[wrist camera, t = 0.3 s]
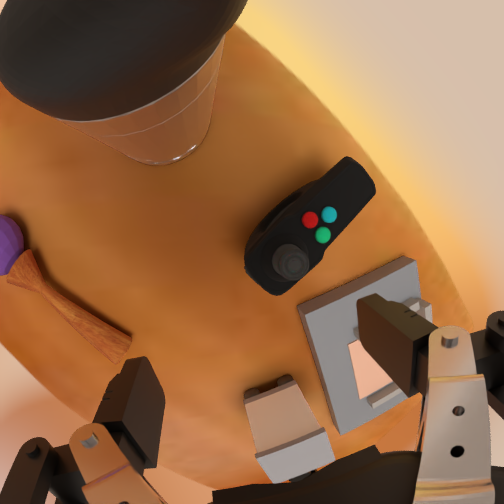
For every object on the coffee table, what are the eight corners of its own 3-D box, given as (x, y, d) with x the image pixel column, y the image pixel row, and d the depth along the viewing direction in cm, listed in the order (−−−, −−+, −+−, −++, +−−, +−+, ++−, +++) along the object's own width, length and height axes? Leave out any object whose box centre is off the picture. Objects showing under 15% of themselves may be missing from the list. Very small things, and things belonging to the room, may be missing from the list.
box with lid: (238, 390, 31) (256, 458, 21) (291, 369, 32) (325, 431, 21) (254, 419, 32) (274, 484, 22) (303, 400, 33) (335, 460, 23)
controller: (225, 245, 28) (239, 272, 18) (317, 157, 28) (371, 143, 18) (256, 276, 29) (284, 316, 19) (343, 190, 29) (404, 191, 19)
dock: (296, 305, 30) (313, 325, 25) (403, 255, 32) (430, 265, 27) (333, 424, 35) (347, 447, 30) (415, 378, 36) (434, 394, 31)
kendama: (103, 384, 24) (-41, 258, 18) (117, 347, 30) (-9, 238, 23) (131, 355, 23) (-29, 212, 17) (144, 317, 29) (6, 196, 22)
